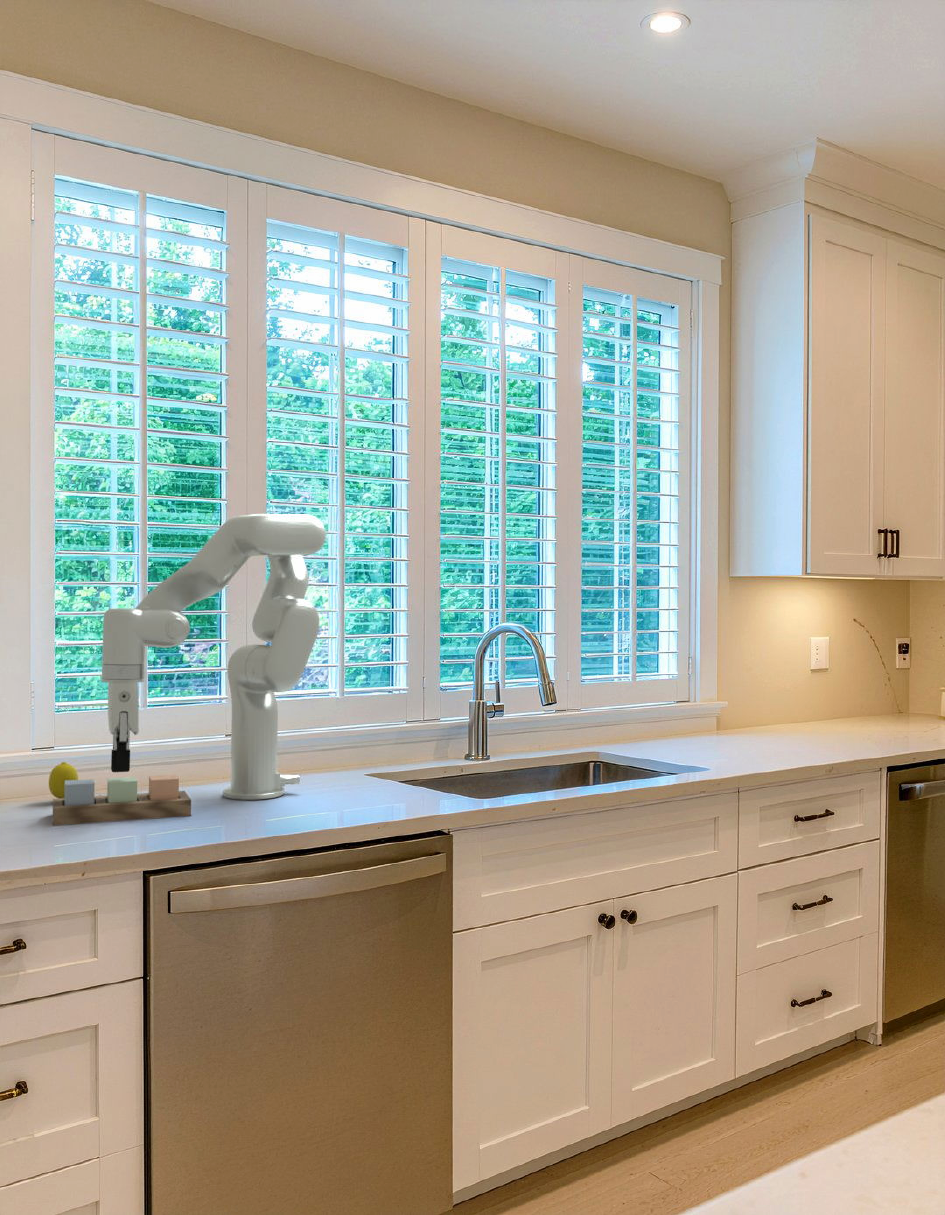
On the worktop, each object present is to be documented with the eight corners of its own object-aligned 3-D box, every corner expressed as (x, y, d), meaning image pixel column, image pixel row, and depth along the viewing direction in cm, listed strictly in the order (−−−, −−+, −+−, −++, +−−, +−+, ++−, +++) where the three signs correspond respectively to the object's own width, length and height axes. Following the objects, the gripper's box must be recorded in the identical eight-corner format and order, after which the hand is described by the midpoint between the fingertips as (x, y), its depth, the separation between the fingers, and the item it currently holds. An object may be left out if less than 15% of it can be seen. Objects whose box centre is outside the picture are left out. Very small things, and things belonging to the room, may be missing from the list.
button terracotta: (175, 800, 192) (175, 774, 192) (178, 805, 187) (178, 778, 187) (148, 802, 190) (148, 776, 190) (151, 806, 185) (151, 780, 185)
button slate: (93, 805, 186) (93, 779, 186) (94, 810, 181) (94, 783, 181) (64, 807, 184) (64, 780, 184) (64, 812, 179) (65, 785, 179)
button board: (184, 806, 195) (184, 790, 195) (190, 815, 186) (191, 799, 186) (52, 814, 185) (52, 798, 185) (52, 825, 176) (53, 808, 176)
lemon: (69, 798, 202) (69, 759, 202) (83, 801, 199) (83, 761, 199) (43, 801, 198) (43, 762, 198) (57, 805, 194) (57, 765, 194)
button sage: (134, 803, 189) (135, 776, 189) (137, 807, 184) (137, 781, 184) (107, 804, 187) (107, 778, 187) (108, 809, 182) (108, 782, 182)
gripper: (147, 676, 180) (144, 776, 180) (140, 671, 194) (138, 765, 194) (103, 676, 177) (100, 778, 177) (100, 671, 191) (97, 766, 191)
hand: (120, 771), depth 185 cm, fingers closed
